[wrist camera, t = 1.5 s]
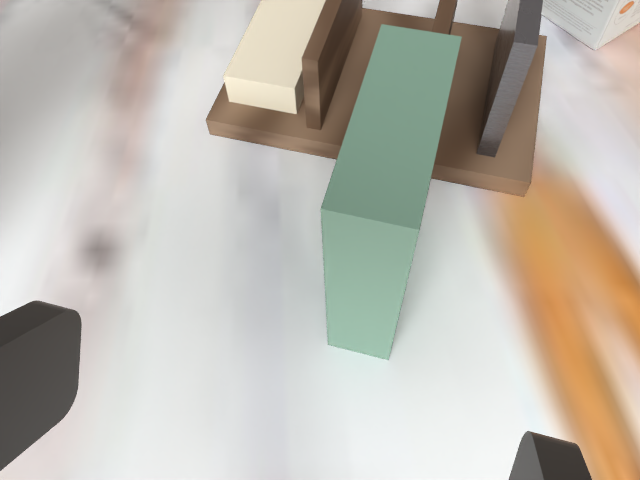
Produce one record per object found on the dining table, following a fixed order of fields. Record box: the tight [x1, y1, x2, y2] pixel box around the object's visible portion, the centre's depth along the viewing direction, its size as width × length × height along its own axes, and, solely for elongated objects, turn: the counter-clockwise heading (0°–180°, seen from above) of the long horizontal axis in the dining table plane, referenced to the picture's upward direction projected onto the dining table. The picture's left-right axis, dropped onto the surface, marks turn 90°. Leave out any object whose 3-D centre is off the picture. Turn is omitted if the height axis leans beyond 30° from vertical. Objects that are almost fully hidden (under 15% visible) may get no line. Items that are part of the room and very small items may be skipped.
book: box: [321, 24, 462, 360], centre depth 28 cm, size 4×10×14 cm, turn 164°
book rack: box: [206, 0, 547, 197], centre depth 38 cm, size 22×14×8 cm, turn 74°
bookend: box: [476, 0, 543, 157], centre depth 35 cm, size 1×11×9 cm, turn 165°
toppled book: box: [223, 0, 326, 114], centre depth 40 cm, size 5×10×2 cm, turn 164°
